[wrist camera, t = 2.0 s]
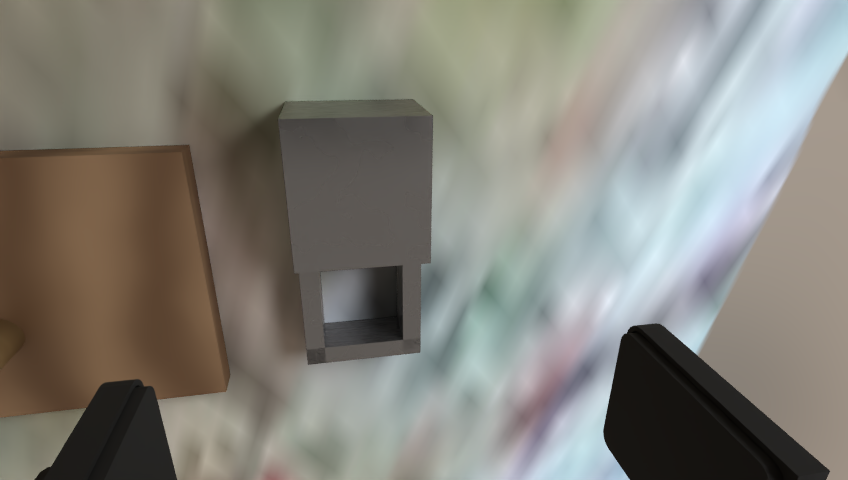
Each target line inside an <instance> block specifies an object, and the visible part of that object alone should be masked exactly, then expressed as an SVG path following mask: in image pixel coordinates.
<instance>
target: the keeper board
mask: <svg viewBox="0 0 848 480" xmlns="http://www.w3.org/2000/svg"><path fill="white" fill-rule="evenodd" d="M229 378H230V371H229V365H228V359H227V354H226V348H225V343H224V337H223V331H222V326H221V320H220V315H219V309H218V303H217V298H216V292H215V287H214V281H213V276H212V270H211V264H210V259H209V253H208V248H207V242H206V236H205V231H204V225H203V220H202V214H201V208H200V203H199V197H198V192H197V186H196V180H195V175H194V169H193V164H192V158H191V152H190V147H189V145H174V146H142V147H110V148H78V149H46V150H14V151H0V417H9V416H18V415H26V414H35V413H44V412H52V411H61V410H70V409H79V408H87V407H88V405H89V403H90V402H91V400H92V398H93V397H94V395H95V393H96V392H97V390H98V388H99V387H100V386H101V385H102V384H103V383H105V382H114V381H123V380H133V379H139V380H141V381H142V382H143V385H144V386H152V387H153V388H154V390H155V394H156V398H157V399H166V398H175V397H183V396H192V395H201V394H209V393H218V392H226V390H227V386H228V382H229Z"/></svg>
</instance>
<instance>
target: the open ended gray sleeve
mask: <svg viewBox="0 0 848 480" xmlns="http://www.w3.org/2000/svg"><path fill="white" fill-rule="evenodd" d="M278 124H279V133H280V143H281V152H282V162H283V171H284V181H285V190H286V200H287V209H288V219H289V228H290V238H291V247H292V256H293V266H294V274H295V273H299V281H300V291H301V301H302V310H303V320H304V330H305V340H306V350H307V360H308V365H309V364H318V363H328V362H337V361H346V360H355V359H364V358H374V357H383V356H392V355H401V354H410V353H420V324H421V264H425V263H431V209H432V147H433V115H432V114H430V113H429V112H428V111H427V110H426V109H424V108H423V107H422V106H421V105H419V104H418V103H417V102H416V101H415V100H413V99H404V100H346V101H289V102H285V104H284V106H283V109H282V111H281V113H280V116H279V118H278ZM386 266H396V279H397V317H388V318H377V319H367V320H356V321H346V322H335V323H325V324H324V312H323V300H322V288H321V275H320V272H321V271H334V270H347V269H360V268H373V267H386Z"/></svg>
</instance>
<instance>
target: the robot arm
mask: <svg viewBox="0 0 848 480" xmlns="http://www.w3.org/2000/svg"><path fill="white" fill-rule="evenodd" d="M603 433H604V439H605V442H606V445H607V447H608V448H609V450H610V451H611V453H612V454H613V456H614V457H615V459H616V460H617V462H618V463H619V464H620V466H621V467H622V469H623V470H624V472H625V473H626V475H627V476H628V478H629V479H630V480H826V479H827V477H828V474H829V472H830V471H829V470H828V469H827V468H826V467H825V466H823V464H821V463H820V462H819V461H818V460H817V459H816V458H814V457H813V456H812V455H811V454H810V453H809V452H808V451H806V450H805V449H804V448H803V447H802V446H801V445H799V444H798V443H797V442H796V441H795V440H794V439H793V438H791V437H790V436H789V435H788V434H787V433H786V432H785V431H783V430H782V429H781V428H780V427H779V426H778V425H776V424H775V423H774V422H773V421H772V420H771V419H770V418H768V417H767V416H766V415H765V414H764V413H763V412H762V411H760V410H759V409H758V408H757V407H756V406H755V405H753V404H752V403H751V402H750V401H749V400H748V399H747V398H745V397H744V396H743V395H742V394H741V393H740V392H738V391H737V390H736V389H735V388H734V387H733V386H732V385H730V384H729V383H728V382H727V381H726V380H725V379H723V378H722V377H721V376H720V375H719V374H718V373H717V372H716V371H714V370H713V369H712V368H711V367H710V366H709V365H707V364H706V363H705V362H704V361H703V360H702V359H701V358H699V357H698V356H697V355H696V354H695V353H694V352H692V351H691V350H690V349H689V348H688V347H687V346H686V345H684V344H683V343H682V342H681V341H680V340H679V339H678V338H676V337H675V336H674V335H673V334H672V333H671V332H669V331H668V330H667V329H666V328H665V327H664V326H662V325H660V324H647V325H637V326H632V327H630V329H629V330H628V332H627V334H624V335H623V336H622V339H621V343H620V348H619V353H618V358H617V363H616V368H615V373H614V378H613V383H612V389H611V394H610V399H609V404H608V409H607V414H606V419H605V424H604V431H603ZM35 480H177V478H176V474H175V470H174V466H173V462H172V458H171V454H170V450H169V446H168V442H167V438H166V434H165V430H164V426H163V422H162V418H161V414H160V410H159V406H158V402H157V398H156V394H155V390H154V388H153V387H152V386H144V385H143V382H142V381H141V380H139V379H133V380H123V381H114V382H105V383H103V384H102V385H101V386H100V387H99V388H98V390H97V392H96V393H95V395H94V397H93V398H92V400H91V402H90V403H89V405H88V407H87V408H86V410H85V412H84V413H83V415H82V417H81V418H80V420H79V421H78V423H77V425H76V426H75V428H74V430H73V431H72V433H71V435H70V436H69V438H68V440H67V441H66V443H65V445H64V446H63V448H62V450H61V451H60V453H59V455H58V456H57V458H56V460H55V461H54V463H53V465H52V466H51V467H48V468H46V469H44V470H43V471H41V472H40V473H39V475H38V476H37V477H36V478H35Z"/></svg>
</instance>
